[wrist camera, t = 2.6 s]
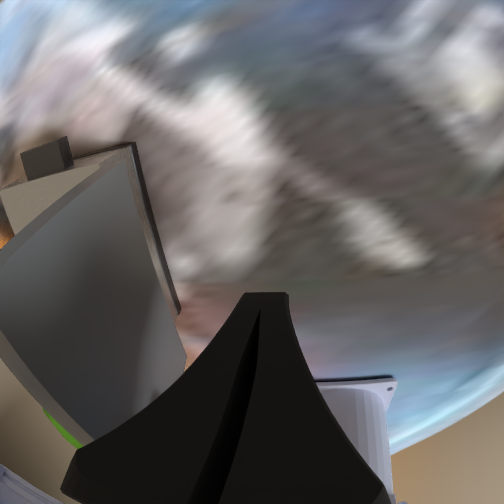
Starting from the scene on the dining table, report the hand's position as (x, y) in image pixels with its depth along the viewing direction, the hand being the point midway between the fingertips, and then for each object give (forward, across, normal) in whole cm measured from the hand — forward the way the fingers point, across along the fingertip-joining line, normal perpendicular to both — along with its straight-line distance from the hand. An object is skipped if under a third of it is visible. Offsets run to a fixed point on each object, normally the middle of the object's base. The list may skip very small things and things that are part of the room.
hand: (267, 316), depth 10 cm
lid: (-1, +6, 0) cm, 6 cm away
